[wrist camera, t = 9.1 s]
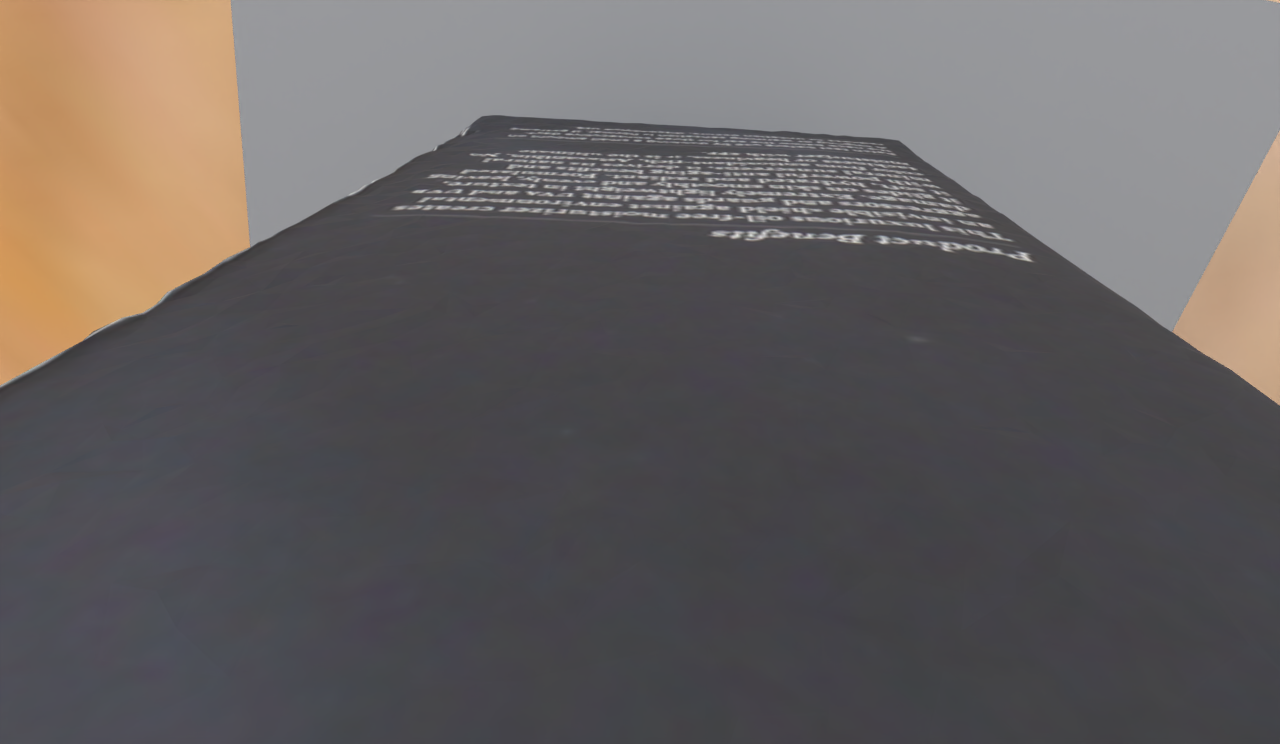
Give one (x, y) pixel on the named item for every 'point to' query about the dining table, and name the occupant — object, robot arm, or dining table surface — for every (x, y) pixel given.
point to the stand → (805, 100)
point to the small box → (640, 473)
